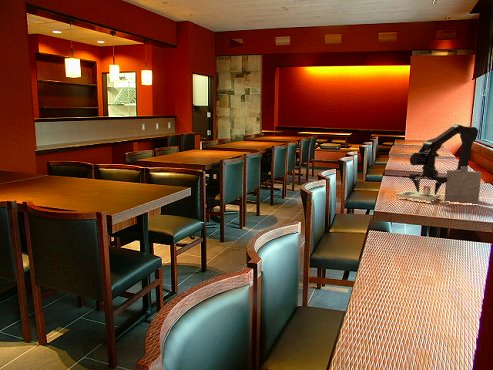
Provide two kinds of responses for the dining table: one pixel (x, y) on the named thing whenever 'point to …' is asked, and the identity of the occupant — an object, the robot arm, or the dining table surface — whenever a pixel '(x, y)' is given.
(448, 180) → the grey upright panel
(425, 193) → the plug
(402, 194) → the socket block
